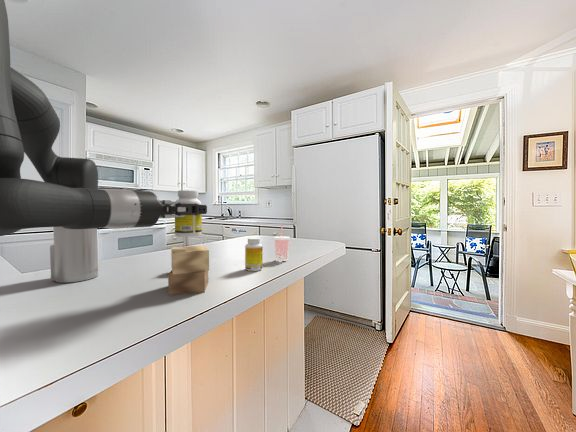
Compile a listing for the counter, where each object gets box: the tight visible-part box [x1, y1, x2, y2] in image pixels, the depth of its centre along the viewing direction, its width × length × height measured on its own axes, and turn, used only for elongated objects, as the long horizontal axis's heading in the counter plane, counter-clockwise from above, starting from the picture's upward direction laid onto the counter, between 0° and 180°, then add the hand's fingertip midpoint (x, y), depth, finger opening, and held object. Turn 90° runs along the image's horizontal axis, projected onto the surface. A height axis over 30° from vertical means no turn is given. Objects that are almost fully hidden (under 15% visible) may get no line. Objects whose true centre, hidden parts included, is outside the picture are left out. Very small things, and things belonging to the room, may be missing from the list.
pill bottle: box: [174, 189, 203, 238], centre depth 61 cm, size 6×6×11 cm
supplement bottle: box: [244, 237, 264, 272], centre depth 80 cm, size 6×6×10 cm
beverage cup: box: [273, 223, 291, 262], centre depth 93 cm, size 6×6×14 cm
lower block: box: [167, 270, 209, 296], centre depth 62 cm, size 8×8×5 cm
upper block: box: [170, 244, 210, 275], centre depth 62 cm, size 8×8×5 cm
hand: (196, 209), depth 63 cm, fingers closed on pill bottle, 6 cm apart
